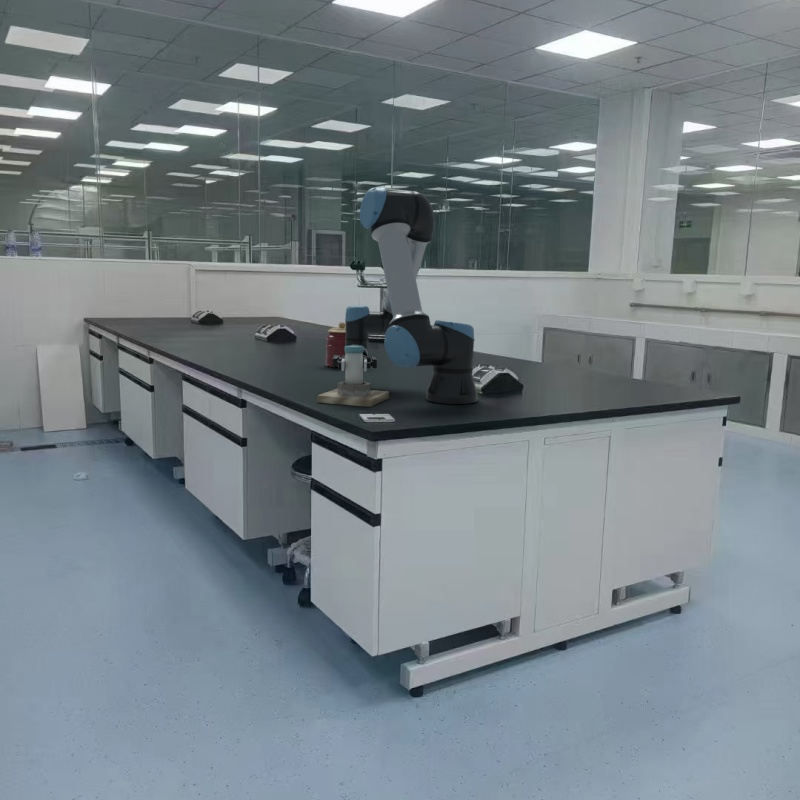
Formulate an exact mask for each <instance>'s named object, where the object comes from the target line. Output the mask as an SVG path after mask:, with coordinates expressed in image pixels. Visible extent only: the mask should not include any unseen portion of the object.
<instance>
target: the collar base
mask: <svg viewBox="0 0 800 800" xmlns="http://www.w3.org/2000/svg"><path fill="white" fill-rule="evenodd" d="M371 385H372V384H371V383H370V382H367V381H363V385H347V384H345V380H343V381H340V382H337V388H335V389H331V390H329V391H326V392H322V393H321V394H317V395H316V396H317V400H316V403H320V404H321V403H322V404H331V405H332V404H333V405H344V406H357V407H368V408H369V407H370V408H371V407H373V406H375V405H377V404H379V403H383V402H384V401H387V400H389V399H390V391H387V390H375V389H374V390H371V389H372V387H371Z"/></svg>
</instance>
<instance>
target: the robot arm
mask: <svg viewBox="0 0 800 800" xmlns="http://www.w3.org/2000/svg"><path fill="white" fill-rule="evenodd" d="M435 220H436V219H435V213H434V209H433V205H432V204H431V203H430V200H428V198H427V197H426V196H425V195H424V194H422V193H421V192H419V191H416V190H404V189H396V188H395V189H394V188H386V187H385V186H384V187H372V188H370V189H368V190H367V191H366V193H364V196H363V197H362V200H361V204H360V208H359V221H360V224H361V226H362V227H363V228H365V230H366V229H368V230H370V234H371V238H372V240H374V241H376V242H377V244H378V247H379V248H378V249H379V253H380V257H381V263H382V267H383V268H382V269H383V273H384V278H385V283H386V287H387V288H386V289H387V293H386V298H385V301H384V304H383V308H382V310H381V311H370V308H369V306H366V305H348V306H347V307H346V309H345V319H344V320H345V322H344V323H345V327H346V338H345V346H363V373H364V372H365V373H366V372H367V371H368V370H367V369H371V368H372V369H377V368H378V355H373V356H369V338H370V337H369V336H376V335H377V336H378V335H384V340H383V341H384V350H385V353H386V355H387V357H388V359H389V360H390V361H391V362H392V363H393V364H394V365H395V366H396V367H400V368H410V369H411V368H418V367H432V376H431V379H430V381H429V384H428V386H427V389H426V394H425V395H426V397H425V399H426V400H427V401H429V402H433V403H436V404H437V403H438V404H446V405H447V404H449V405H467V404H472V403H473V404H474V403H476V402H478V391H477V386H476V382H475V380H474V376H473V370H474V369H473V367H474V366H473V365H474V347H475V339H476V338H475V330H474V327H473V326H472V325H471V324H468V323H462V322H454V321H449V320H447V321H446V320H440V319H439V320H438V319H437V320H435V321H434V323H433V324H431V321H430V316H429V315H428V314H426V313H425V312H423V308H422V303H421V299H420V294H419V288H418V284H417V276H418V273H419V270H420V268H421V264H422V262H423V258H424V255H425V251H426V248H427V245H428V244H430V243H431V242H432V240H433V236H434V233H435V227H436V222H435ZM337 366H338V368H337V369H338V370H337V371H341V372H345V354H344V356H342V358H340V356H337V355H333V359H332V367H331V368H335V367H337Z"/></svg>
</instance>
